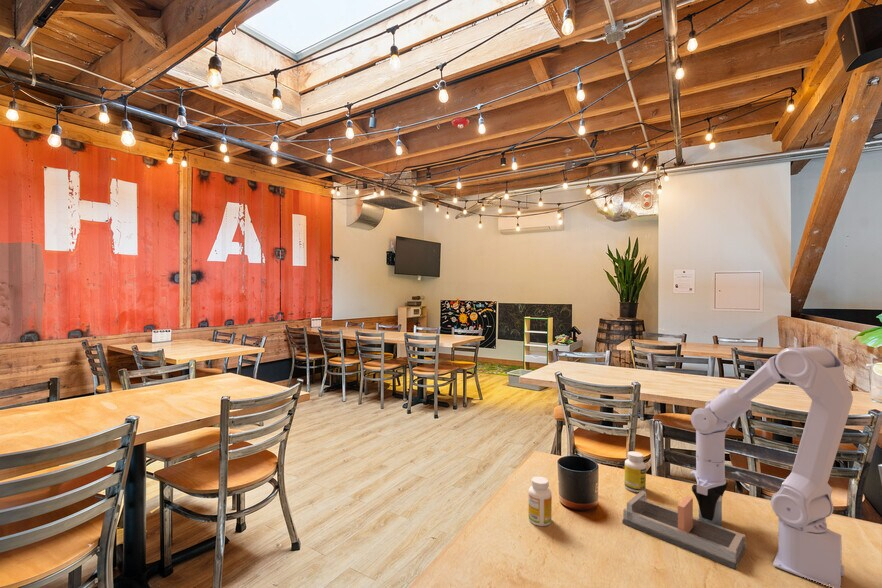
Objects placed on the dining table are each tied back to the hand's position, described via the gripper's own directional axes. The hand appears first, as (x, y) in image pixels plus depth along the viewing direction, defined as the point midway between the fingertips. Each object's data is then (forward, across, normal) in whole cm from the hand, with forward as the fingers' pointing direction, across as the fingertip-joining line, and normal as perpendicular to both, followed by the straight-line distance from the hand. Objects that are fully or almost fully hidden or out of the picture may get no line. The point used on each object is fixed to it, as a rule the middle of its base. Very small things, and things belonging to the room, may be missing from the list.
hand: (710, 514), depth 96 cm
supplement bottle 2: (+2, -4, -19) cm, 20 cm away
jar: (+2, 0, 0) cm, 2 cm away
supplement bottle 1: (+2, +30, -28) cm, 41 cm away
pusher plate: (+1, +11, -2) cm, 12 cm away
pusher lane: (+2, +12, -3) cm, 12 cm away
